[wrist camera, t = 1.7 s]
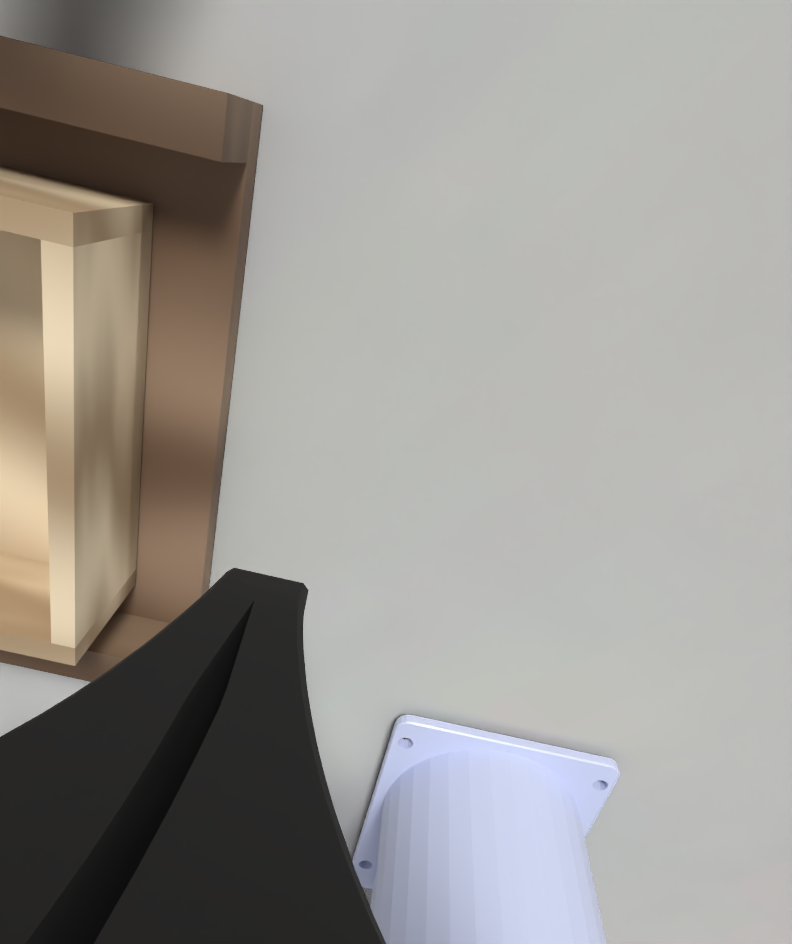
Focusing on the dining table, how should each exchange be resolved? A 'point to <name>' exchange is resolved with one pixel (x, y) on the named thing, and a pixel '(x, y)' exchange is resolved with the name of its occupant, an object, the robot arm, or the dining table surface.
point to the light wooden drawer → (69, 408)
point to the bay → (153, 292)
